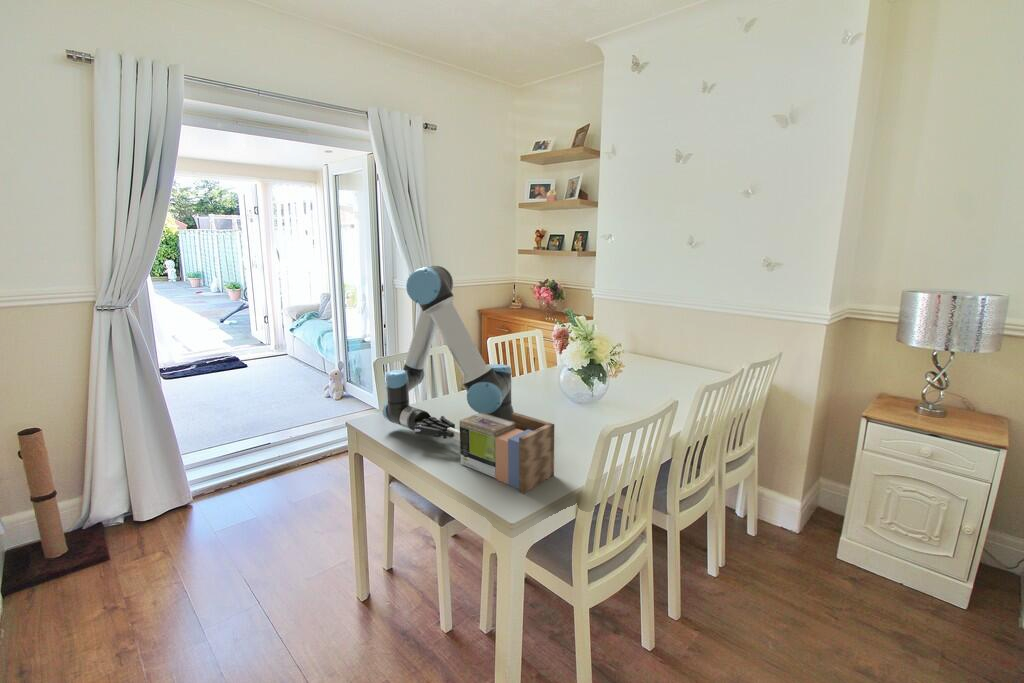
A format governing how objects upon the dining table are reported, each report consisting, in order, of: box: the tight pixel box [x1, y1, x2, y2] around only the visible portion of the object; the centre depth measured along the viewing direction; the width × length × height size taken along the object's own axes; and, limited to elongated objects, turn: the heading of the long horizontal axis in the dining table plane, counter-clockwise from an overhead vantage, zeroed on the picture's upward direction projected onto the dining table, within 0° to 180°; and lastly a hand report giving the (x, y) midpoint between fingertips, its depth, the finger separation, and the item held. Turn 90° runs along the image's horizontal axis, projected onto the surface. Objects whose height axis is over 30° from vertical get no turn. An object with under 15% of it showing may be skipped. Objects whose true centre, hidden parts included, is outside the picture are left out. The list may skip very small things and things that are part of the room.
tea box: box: [459, 412, 516, 479], centre depth 145 cm, size 15×10×15 cm
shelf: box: [512, 412, 555, 494], centre depth 139 cm, size 14×15×16 cm
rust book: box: [495, 428, 523, 485], centre depth 139 cm, size 9×5×13 cm, turn 140°
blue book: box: [507, 429, 532, 490], centre depth 136 cm, size 9×4×14 cm, turn 140°
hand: (462, 436), depth 151 cm, fingers closed
